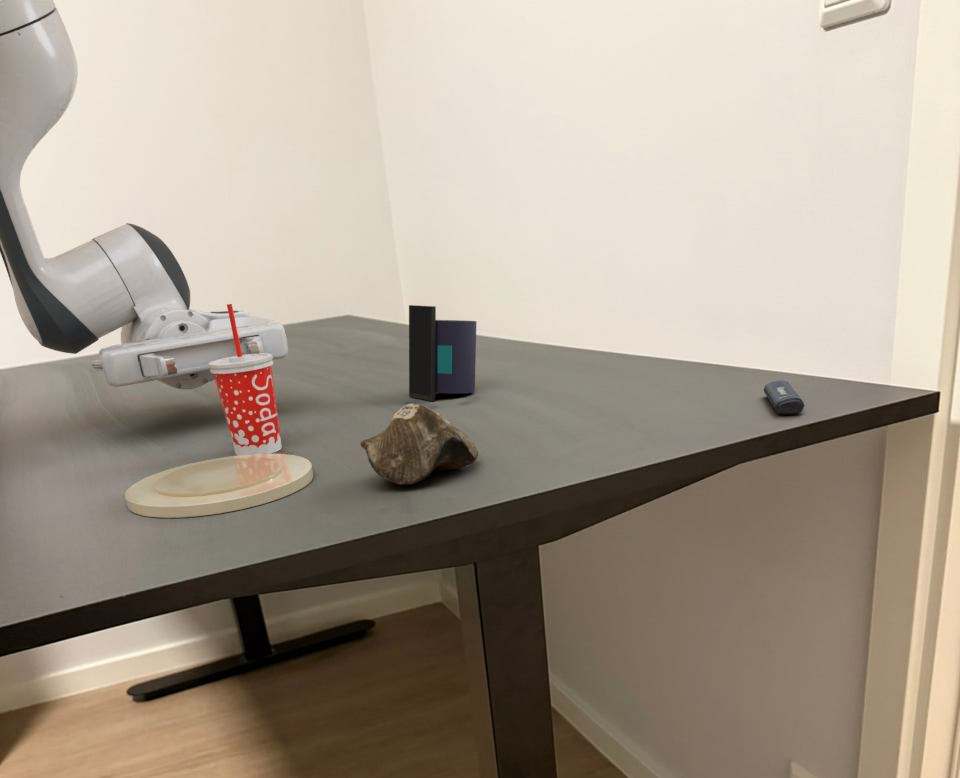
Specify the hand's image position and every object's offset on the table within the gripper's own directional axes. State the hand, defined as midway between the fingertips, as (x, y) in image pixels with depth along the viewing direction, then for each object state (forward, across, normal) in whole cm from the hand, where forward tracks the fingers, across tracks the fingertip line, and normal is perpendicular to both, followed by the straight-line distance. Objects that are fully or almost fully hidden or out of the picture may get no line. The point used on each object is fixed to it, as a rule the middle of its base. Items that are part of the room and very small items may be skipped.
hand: (213, 358), depth 100 cm
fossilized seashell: (+32, +7, +8) cm, 34 cm away
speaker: (+2, +26, +8) cm, 28 cm away
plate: (+21, -7, +8) cm, 24 cm away
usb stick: (+38, +42, +8) cm, 58 cm away
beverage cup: (+10, 0, +8) cm, 13 cm away
